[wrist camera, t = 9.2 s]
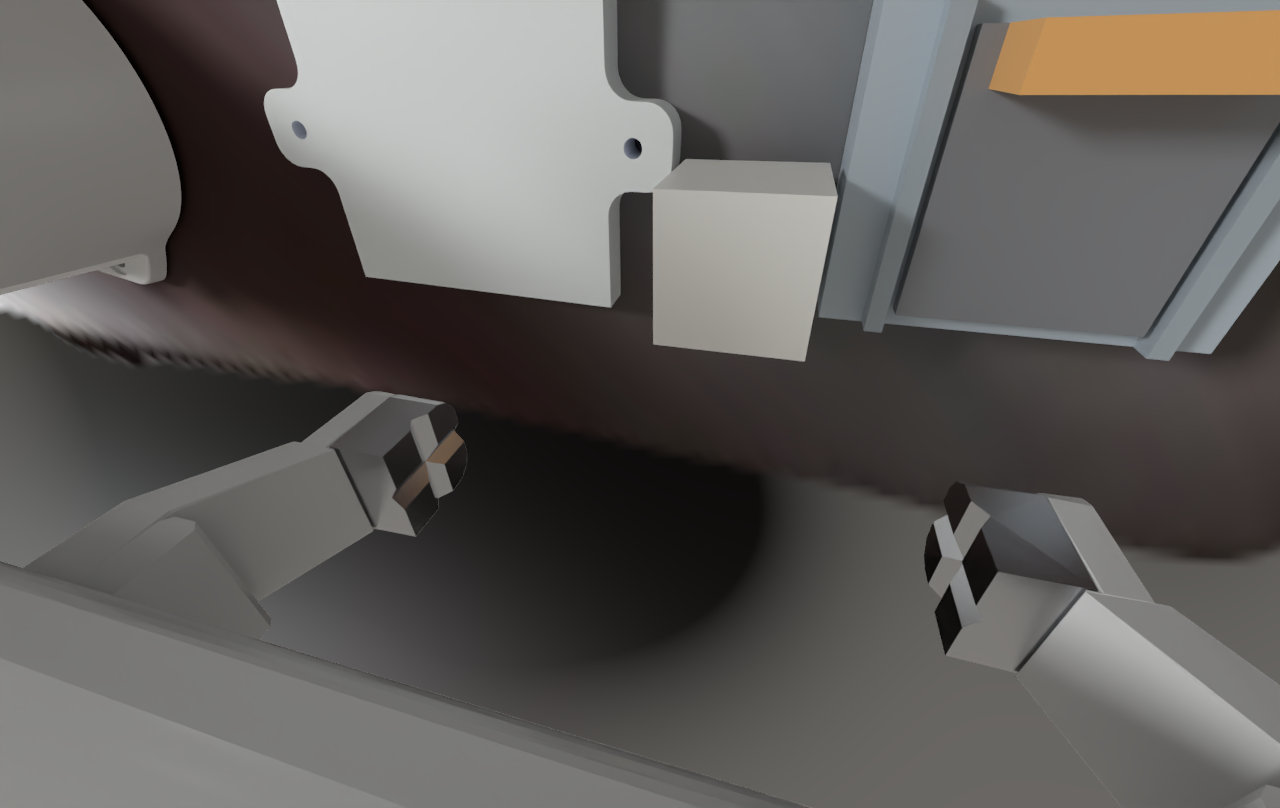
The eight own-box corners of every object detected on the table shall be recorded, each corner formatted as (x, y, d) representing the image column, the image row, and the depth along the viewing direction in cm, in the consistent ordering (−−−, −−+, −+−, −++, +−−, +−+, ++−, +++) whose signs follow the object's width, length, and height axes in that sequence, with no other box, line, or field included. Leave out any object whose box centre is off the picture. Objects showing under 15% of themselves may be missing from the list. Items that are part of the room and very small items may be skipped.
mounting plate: (351, 259, 27) (324, 271, 26) (242, -65, 20) (195, -75, 18) (674, 297, 23) (665, 314, 22) (694, -85, 16) (683, -99, 14)
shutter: (892, 308, 18) (906, 347, 15) (976, 24, 13) (1015, 18, 11) (1133, 328, 16) (1190, 376, 14) (1326, 13, 11) (1462, 4, 9)
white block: (688, 276, 22) (653, 344, 17) (693, 152, 19) (652, 188, 14) (804, 286, 21) (804, 361, 16) (828, 155, 18) (837, 196, 13)
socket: (816, 287, 21) (819, 326, 18) (951, -396, 11) (1003, -553, 8) (1158, 314, 18) (1227, 366, 15) (1701, -546, 9) (2166, -855, 6)
